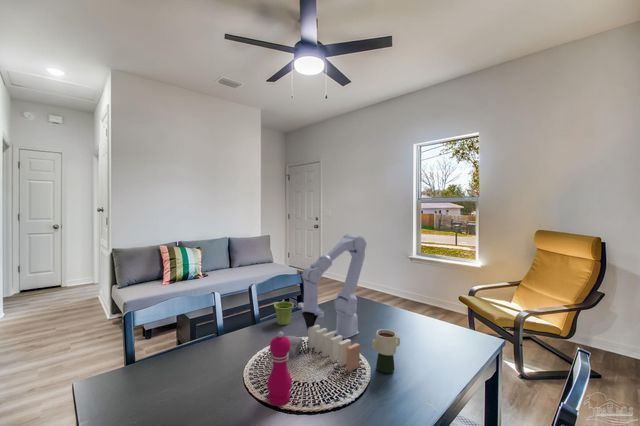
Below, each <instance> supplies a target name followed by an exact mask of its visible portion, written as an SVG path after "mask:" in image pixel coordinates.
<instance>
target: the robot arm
mask: <svg viewBox="0 0 640 426" xmlns="http://www.w3.org/2000/svg"><path fill="white" fill-rule="evenodd" d="M366 247H367V242H366V239H365V238H364V236H361V235H359V236H358V235H354V234H353V235H352V234H344V235H343V236H342V237H341V238H340V240H339V242H338V243H337V244H336V245H335V246H334V247H333V248H332V249H330V251H329V252H328V254H326V255H324V254H322V255H319V256H318V259H316V260H315V261H314V262H313V263H311V264H310V266H306V267H305V268H304V269H303V271H302V273H301V274H300V275H301V278H302V280H303V302H302V301H301V302H298V303H297V308H298V309H301V311H302V313H301V315H302V317H303V319H304V321H305V326H306V329H307V331H308V328H309V327H312V326H315V325H316V324H315V323H316V320H317V319H318V318H320V319H321V318H324V317H325V311H323V310H322V309H321V308H320V307H319V304H318V303H319V302H318V301H319V298H318V297H319V296H318V294H319V282H320V281H321V279H322V276H323V275H324V273H325V272H326V271H328V270H329V268H331V266H332V265H333V261H334V260H336V259H337V258H339V257H340V255H342V254H344V252H346V251H347V252H348V253H349V255H350V256H351V260H350V263H349V266H348V270H347V273H346V277H345V280H344V284H343V288H342V290H341V291H339V292H338V293H337V296H336V298H335V299H334V301H333V308H334V309H335V311H336V329H335V330H333V331H332V332H334V333H335V336H338V335H341V336H343V339H344V340H346V339H350V337H353V336H355V335H358V334H360V331H359V330H358V329H359V324H358V323H359V318H358V315H357V310H358V305H357V303H358V298H357V296H356V295H355V293H356V290H357V286H358V284H359V283H358V282H359V278H360V276H361V271H362V268H363V264H364V260H365V257H366Z"/></svg>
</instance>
